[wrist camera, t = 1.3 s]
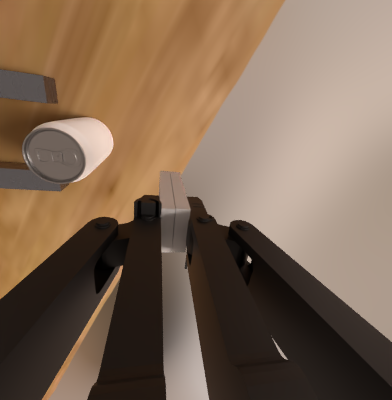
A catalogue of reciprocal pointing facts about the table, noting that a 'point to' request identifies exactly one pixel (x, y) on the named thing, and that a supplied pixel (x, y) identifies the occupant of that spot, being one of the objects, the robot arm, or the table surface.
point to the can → (67, 149)
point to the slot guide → (29, 91)
